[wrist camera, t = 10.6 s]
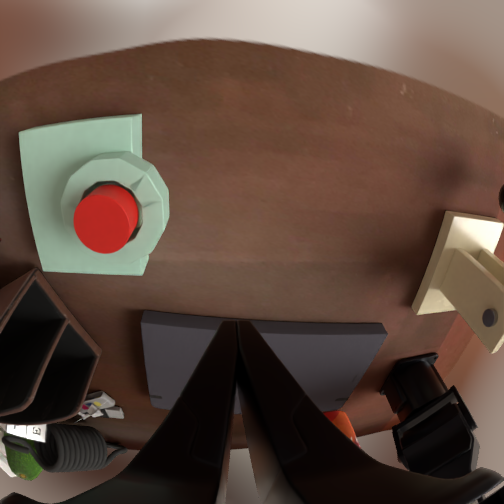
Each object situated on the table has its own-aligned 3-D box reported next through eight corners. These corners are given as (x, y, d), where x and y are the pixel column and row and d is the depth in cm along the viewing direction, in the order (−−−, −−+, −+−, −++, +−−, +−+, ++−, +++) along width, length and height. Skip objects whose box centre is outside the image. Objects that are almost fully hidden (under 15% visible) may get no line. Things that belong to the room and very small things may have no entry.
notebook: (382, 323, 26) (143, 309, 23) (388, 334, 25) (140, 322, 21) (336, 399, 32) (152, 396, 29) (340, 410, 31) (151, 407, 27)
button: (137, 183, 14) (127, 194, 13) (141, 239, 16) (133, 254, 14) (82, 185, 14) (68, 195, 12) (90, 238, 16) (78, 253, 14)
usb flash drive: (65, 405, 29) (63, 411, 29) (50, 381, 27) (48, 388, 26) (124, 414, 31) (124, 421, 30) (114, 391, 28) (112, 398, 27)
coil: (99, 448, 36) (109, 495, 29) (-3, 394, 23) (-6, 456, 16) (130, 435, 36) (144, 486, 30) (25, 376, 24) (24, 446, 17)
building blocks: (-6, 420, 20) (45, 435, 26) (6, 433, 18) (63, 446, 24) (-1, 381, 23) (49, 399, 29) (11, 388, 21) (68, 407, 27)
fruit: (64, 429, 33) (50, 493, 23) (22, 412, 31) (3, 472, 21) (55, 405, 30) (35, 480, 19) (9, 386, 28) (-17, 454, 17)
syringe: (76, 410, 29) (88, 422, 29) (69, 420, 27) (82, 431, 27) (111, 384, 26) (126, 398, 27) (103, 396, 24) (119, 410, 25)
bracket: (445, 210, 21) (526, 273, 12) (496, 218, 22) (564, 270, 13) (410, 307, 26) (461, 382, 17) (463, 301, 27) (512, 362, 18)
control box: (175, 112, 16) (162, 116, 13) (177, 259, 21) (169, 293, 17) (35, 126, 15) (1, 137, 11) (54, 256, 20) (32, 285, 16)
